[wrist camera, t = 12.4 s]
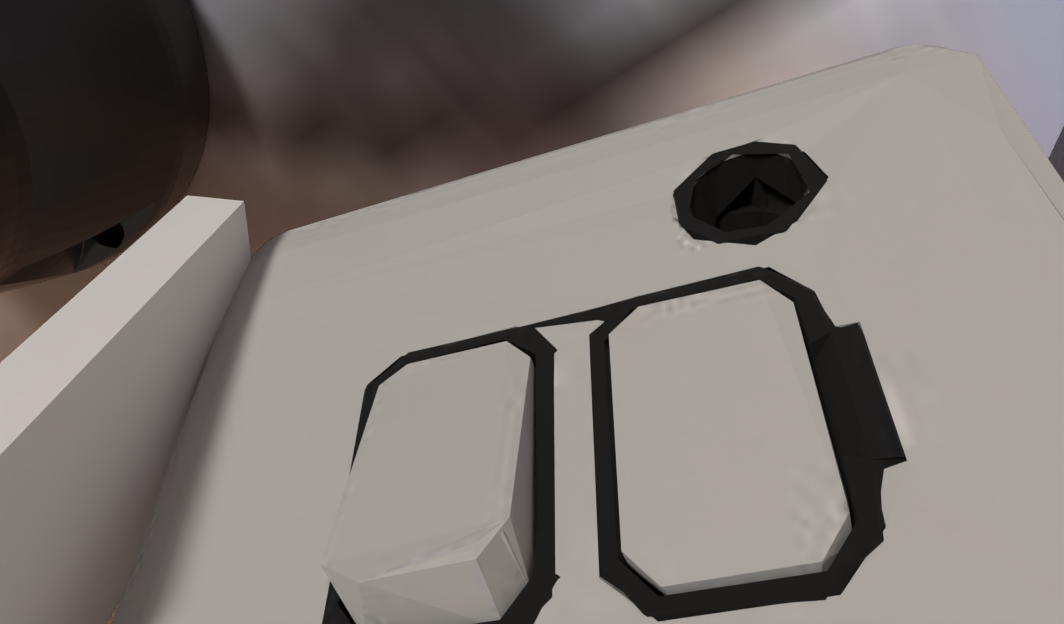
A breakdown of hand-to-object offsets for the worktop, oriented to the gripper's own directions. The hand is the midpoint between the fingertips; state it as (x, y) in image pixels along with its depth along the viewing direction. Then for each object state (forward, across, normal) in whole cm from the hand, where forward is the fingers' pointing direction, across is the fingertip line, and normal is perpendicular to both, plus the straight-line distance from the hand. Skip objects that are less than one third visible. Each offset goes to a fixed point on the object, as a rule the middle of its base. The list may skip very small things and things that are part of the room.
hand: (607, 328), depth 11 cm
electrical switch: (+1, 0, 0) cm, 1 cm away
